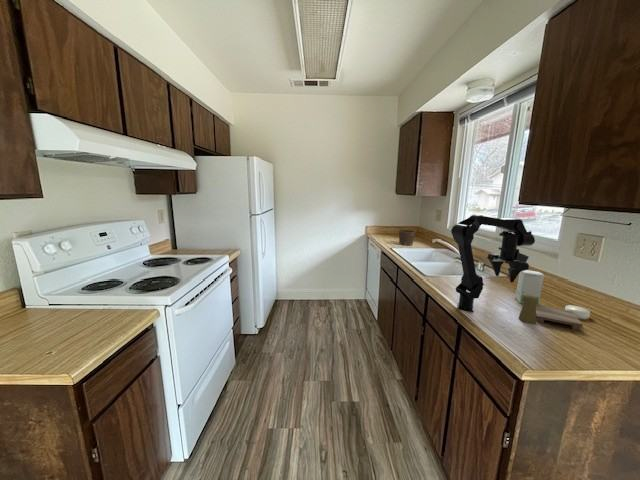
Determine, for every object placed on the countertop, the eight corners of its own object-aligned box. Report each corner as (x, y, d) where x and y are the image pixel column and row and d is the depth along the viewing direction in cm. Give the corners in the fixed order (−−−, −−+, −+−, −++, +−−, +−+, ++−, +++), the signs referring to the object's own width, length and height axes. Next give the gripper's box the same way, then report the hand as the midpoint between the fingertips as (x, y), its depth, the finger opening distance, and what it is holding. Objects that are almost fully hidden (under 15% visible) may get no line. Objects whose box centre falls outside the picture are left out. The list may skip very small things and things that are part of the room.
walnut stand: (581, 331, 103) (582, 324, 102) (536, 322, 110) (537, 315, 109) (570, 317, 115) (572, 311, 114) (530, 310, 122) (531, 304, 121)
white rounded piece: (591, 321, 112) (593, 314, 112) (567, 316, 116) (568, 310, 116) (585, 314, 119) (586, 307, 119) (562, 309, 123) (563, 303, 123)
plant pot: (412, 245, 269) (413, 230, 266) (416, 248, 254) (417, 232, 251) (396, 245, 271) (397, 229, 269) (398, 248, 256) (399, 231, 253)
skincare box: (518, 303, 130) (523, 272, 127) (514, 298, 136) (518, 269, 133) (539, 305, 127) (545, 274, 124) (534, 300, 133) (539, 271, 130)
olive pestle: (530, 325, 108) (535, 300, 106) (515, 318, 113) (518, 294, 111) (539, 322, 110) (543, 297, 108) (523, 316, 115) (527, 292, 113)
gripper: (544, 250, 111) (538, 286, 113) (510, 242, 129) (506, 273, 132) (518, 250, 110) (512, 286, 113) (488, 242, 129) (484, 272, 131)
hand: (504, 279), depth 122 cm, fingers open, 9 cm apart
